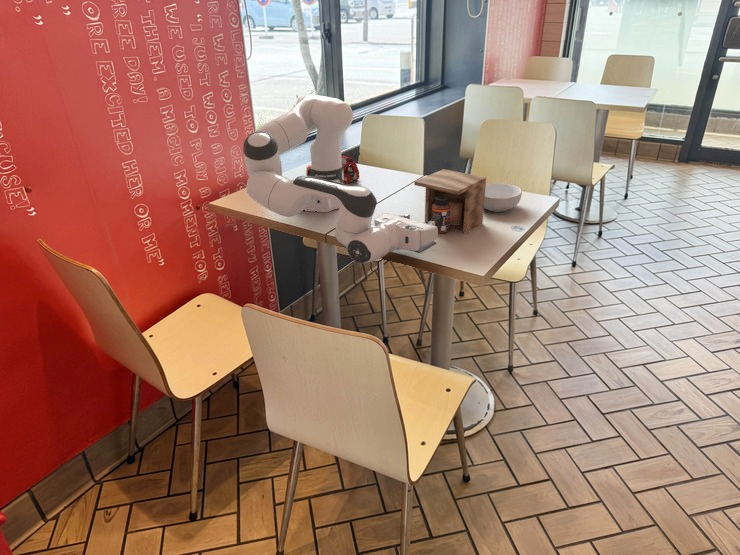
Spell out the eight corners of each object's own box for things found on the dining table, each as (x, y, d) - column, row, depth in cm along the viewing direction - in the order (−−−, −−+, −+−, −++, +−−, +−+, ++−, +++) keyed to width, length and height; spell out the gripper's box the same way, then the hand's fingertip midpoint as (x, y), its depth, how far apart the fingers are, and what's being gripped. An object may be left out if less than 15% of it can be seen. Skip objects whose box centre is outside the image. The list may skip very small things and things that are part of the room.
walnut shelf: (455, 239, 172) (458, 191, 165) (413, 228, 182) (414, 181, 174) (482, 223, 184) (486, 177, 177) (441, 213, 193) (443, 169, 186)
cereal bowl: (470, 200, 205) (471, 182, 202) (514, 200, 205) (516, 182, 201) (476, 216, 190) (478, 197, 187) (524, 216, 189) (526, 197, 186)
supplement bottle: (448, 234, 176) (450, 201, 171) (430, 233, 178) (431, 200, 172) (449, 227, 182) (451, 195, 176) (432, 226, 183) (433, 194, 178)
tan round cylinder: (447, 225, 184) (448, 205, 180) (446, 219, 188) (447, 200, 185) (462, 225, 183) (463, 205, 180) (461, 219, 188) (462, 200, 184)
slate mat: (419, 252, 165) (419, 251, 164) (395, 245, 170) (395, 244, 169) (435, 242, 171) (435, 241, 170) (412, 236, 176) (412, 235, 176)
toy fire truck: (352, 185, 224) (351, 160, 220) (330, 180, 231) (329, 156, 227) (363, 181, 229) (362, 157, 224) (341, 176, 236) (340, 152, 231)
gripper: (366, 235, 166) (393, 222, 175) (421, 252, 154) (447, 237, 163) (365, 216, 163) (393, 203, 172) (421, 232, 151) (448, 217, 160)
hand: (420, 220), depth 168 cm, fingers open, 8 cm apart
